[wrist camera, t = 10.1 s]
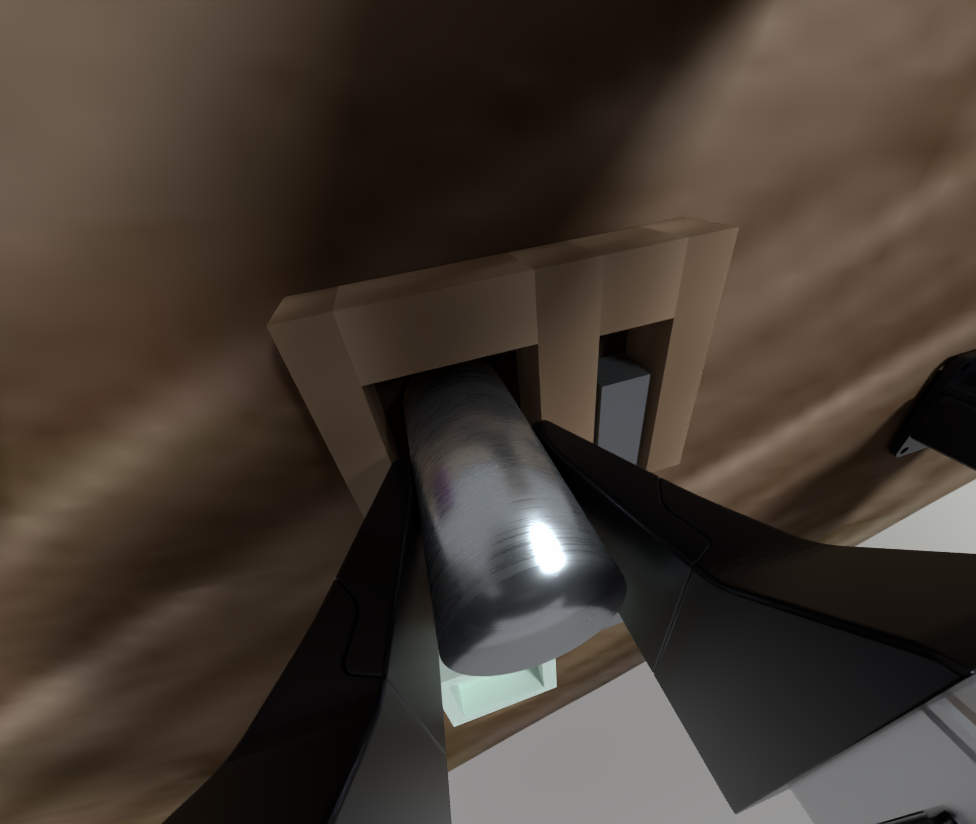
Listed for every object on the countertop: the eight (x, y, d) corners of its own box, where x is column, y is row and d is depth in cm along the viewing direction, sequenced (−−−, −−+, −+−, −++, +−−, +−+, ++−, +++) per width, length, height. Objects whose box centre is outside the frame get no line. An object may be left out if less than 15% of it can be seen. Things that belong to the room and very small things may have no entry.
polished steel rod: (498, 343, 11) (637, 535, 5) (507, 427, 13) (618, 635, 7) (390, 368, 10) (416, 609, 5) (416, 452, 12) (458, 695, 7)
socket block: (682, 217, 10) (739, 226, 9) (646, 432, 15) (679, 464, 14) (284, 297, 9) (265, 325, 7) (381, 509, 14) (382, 555, 12)
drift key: (637, 348, 12) (713, 399, 10) (611, 547, 19) (652, 611, 16) (560, 367, 12) (616, 427, 9) (562, 564, 19) (595, 632, 16)
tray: (539, 602, 21) (554, 640, 19) (543, 651, 24) (556, 687, 23) (424, 642, 20) (430, 687, 18) (447, 686, 24) (454, 726, 22)
